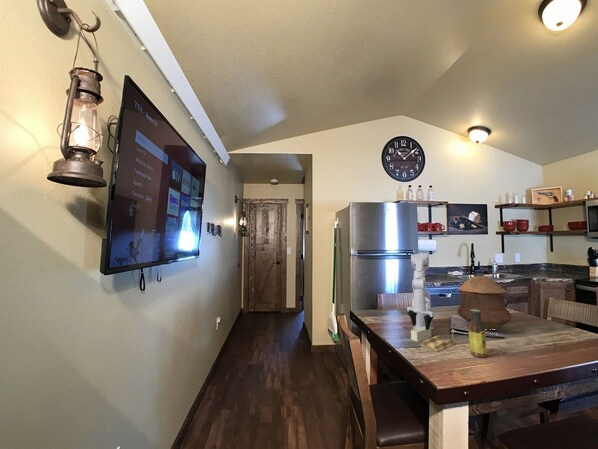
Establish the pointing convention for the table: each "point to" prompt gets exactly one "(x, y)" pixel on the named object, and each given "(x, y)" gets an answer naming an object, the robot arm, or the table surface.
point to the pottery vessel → (484, 302)
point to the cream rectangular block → (420, 334)
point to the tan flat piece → (437, 343)
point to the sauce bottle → (477, 335)
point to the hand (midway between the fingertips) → (420, 327)
